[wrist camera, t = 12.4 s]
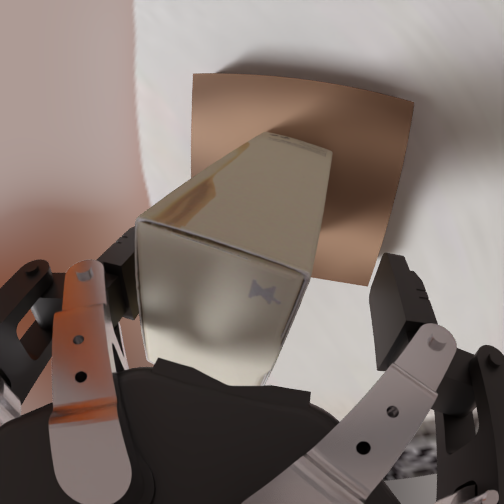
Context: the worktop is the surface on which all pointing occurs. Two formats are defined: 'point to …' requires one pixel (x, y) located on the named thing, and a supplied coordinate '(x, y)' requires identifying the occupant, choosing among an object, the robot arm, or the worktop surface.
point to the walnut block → (320, 134)
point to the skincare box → (232, 258)
